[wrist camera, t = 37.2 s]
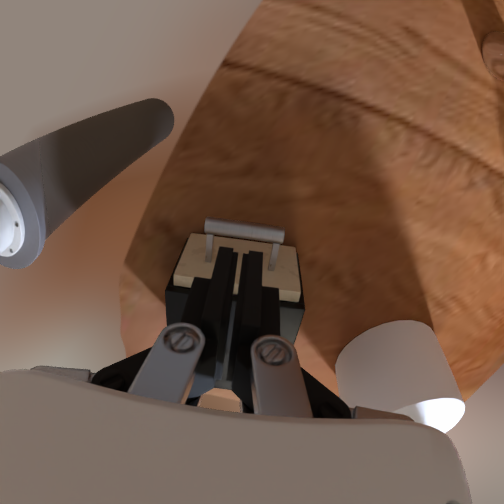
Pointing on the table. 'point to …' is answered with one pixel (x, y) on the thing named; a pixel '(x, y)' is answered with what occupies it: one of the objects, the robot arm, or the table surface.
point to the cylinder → (400, 374)
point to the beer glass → (494, 54)
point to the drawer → (241, 255)
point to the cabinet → (288, 316)
